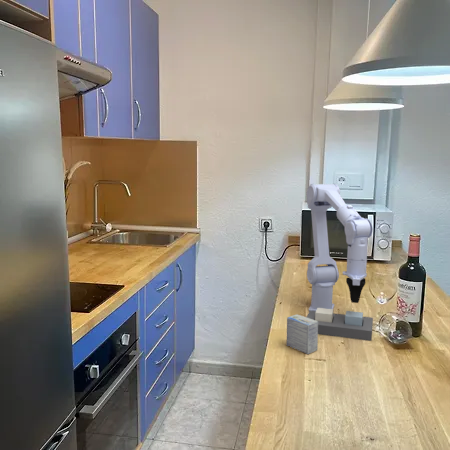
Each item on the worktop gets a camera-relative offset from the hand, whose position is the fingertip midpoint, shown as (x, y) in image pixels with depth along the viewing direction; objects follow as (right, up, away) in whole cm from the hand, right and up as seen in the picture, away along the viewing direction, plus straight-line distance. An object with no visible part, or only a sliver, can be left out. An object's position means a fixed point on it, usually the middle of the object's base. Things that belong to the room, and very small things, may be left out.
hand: (354, 302), depth 143 cm
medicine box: (-18, -11, -11) cm, 24 cm away
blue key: (0, -7, +1) cm, 7 cm away
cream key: (-9, -6, +4) cm, 11 cm away
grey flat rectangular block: (-4, -9, +3) cm, 10 cm away
